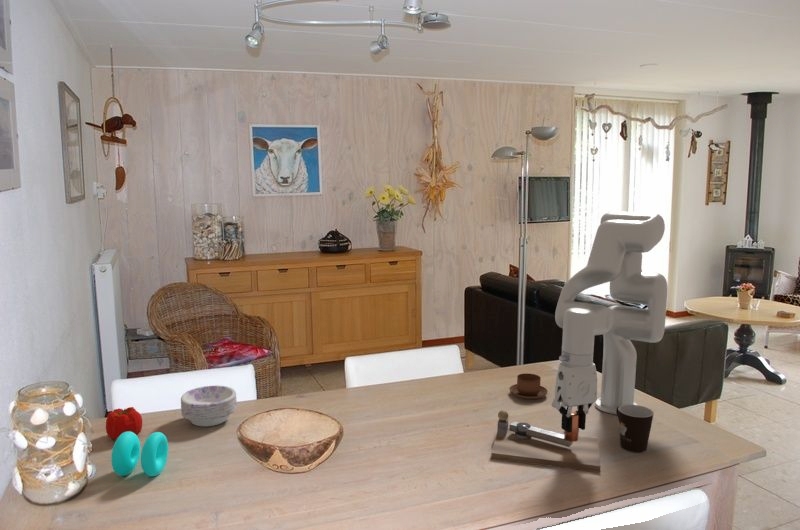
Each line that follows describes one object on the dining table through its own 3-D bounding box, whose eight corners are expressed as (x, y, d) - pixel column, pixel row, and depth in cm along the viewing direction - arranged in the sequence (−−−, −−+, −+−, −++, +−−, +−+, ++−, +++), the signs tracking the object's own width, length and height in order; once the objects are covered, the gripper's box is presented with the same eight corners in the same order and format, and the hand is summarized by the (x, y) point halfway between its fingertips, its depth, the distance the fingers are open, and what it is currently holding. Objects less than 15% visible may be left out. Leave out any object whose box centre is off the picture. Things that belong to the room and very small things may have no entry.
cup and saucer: (508, 388, 203) (509, 370, 202) (545, 389, 201) (546, 372, 200) (510, 401, 191) (510, 382, 190) (549, 403, 189) (549, 384, 189)
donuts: (130, 463, 149) (128, 424, 148) (171, 463, 149) (169, 425, 147) (110, 483, 139) (107, 442, 138) (153, 484, 139) (151, 443, 137)
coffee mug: (654, 456, 154) (656, 418, 152) (618, 452, 156) (620, 415, 154) (645, 436, 165) (647, 401, 164) (612, 434, 167) (614, 399, 165)
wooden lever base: (498, 431, 168) (499, 406, 167) (596, 443, 161) (598, 416, 160) (491, 458, 152) (492, 430, 151) (600, 472, 145) (601, 443, 144)
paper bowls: (195, 436, 164) (193, 408, 163) (173, 419, 176) (172, 392, 174) (246, 421, 174) (245, 395, 173) (223, 406, 186) (222, 381, 184)
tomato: (148, 436, 164) (146, 410, 163) (114, 447, 157) (112, 420, 156) (133, 426, 170) (131, 401, 169) (100, 436, 164) (98, 410, 163)
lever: (508, 431, 162) (509, 401, 161) (514, 426, 165) (515, 397, 164) (574, 449, 151) (576, 417, 150) (579, 444, 154) (581, 413, 153)
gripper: (560, 366, 143) (556, 440, 146) (613, 358, 150) (609, 429, 153) (540, 357, 150) (537, 428, 153) (592, 351, 157) (588, 419, 160)
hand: (573, 428), depth 153 cm, fingers closed on lever, 3 cm apart
